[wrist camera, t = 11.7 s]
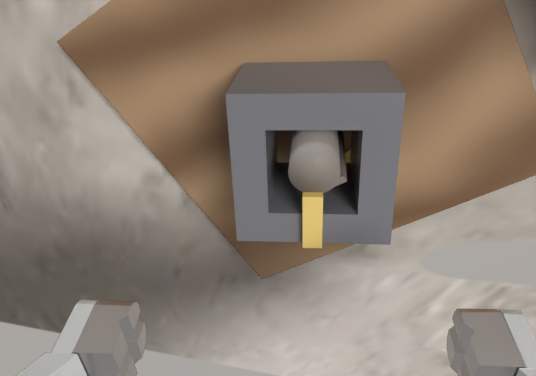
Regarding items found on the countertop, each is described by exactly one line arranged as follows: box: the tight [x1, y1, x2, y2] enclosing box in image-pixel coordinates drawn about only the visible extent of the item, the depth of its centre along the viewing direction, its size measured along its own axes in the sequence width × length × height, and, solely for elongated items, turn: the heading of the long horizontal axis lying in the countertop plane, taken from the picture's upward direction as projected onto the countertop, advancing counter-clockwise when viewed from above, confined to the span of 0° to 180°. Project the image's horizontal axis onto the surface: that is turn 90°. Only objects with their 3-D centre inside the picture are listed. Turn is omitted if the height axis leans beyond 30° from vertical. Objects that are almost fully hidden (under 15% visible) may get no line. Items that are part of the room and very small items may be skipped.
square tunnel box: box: [226, 61, 406, 248], centre depth 20 cm, size 6×6×5 cm
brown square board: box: [57, 0, 536, 279], centre depth 21 cm, size 18×18×7 cm
